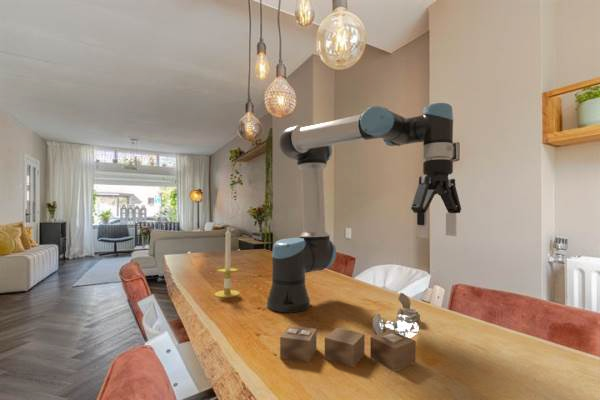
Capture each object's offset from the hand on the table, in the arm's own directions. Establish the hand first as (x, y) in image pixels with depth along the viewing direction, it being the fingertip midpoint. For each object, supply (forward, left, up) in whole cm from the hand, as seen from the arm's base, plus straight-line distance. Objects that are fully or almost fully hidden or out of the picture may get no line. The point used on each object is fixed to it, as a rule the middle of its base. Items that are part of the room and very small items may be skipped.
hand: (437, 236), depth 84 cm
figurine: (-9, -9, -27) cm, 30 cm away
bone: (-9, +3, -27) cm, 29 cm away
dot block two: (-21, -34, -27) cm, 48 cm away
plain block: (-12, -28, -27) cm, 41 cm away
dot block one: (-3, -22, -27) cm, 35 cm away
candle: (-75, -16, -27) cm, 82 cm away
